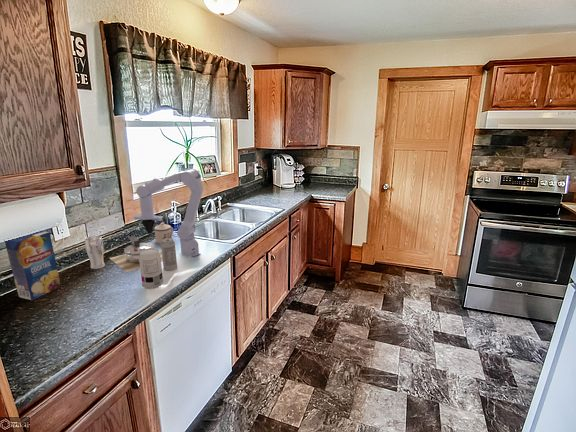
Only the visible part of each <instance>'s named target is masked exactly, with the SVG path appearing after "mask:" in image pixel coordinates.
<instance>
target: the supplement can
mask: <svg viewBox="0 0 576 432" xmlns="http://www.w3.org/2000/svg"><path fill="white" fill-rule="evenodd" d="M158 250H159V249H158ZM158 250H157V248H156V249H146V250H143V251H141V252H140V255H139V263H140V268H139V270H140V277H141V283H142V284H141V285H142V287H143V288H145V289H146V290H147V289H149V290H151V289H157V288H159V287H161V286H162V284H163V283H164V277H163V268H162V262H161V258H160V253H159V252H158Z"/></svg>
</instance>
